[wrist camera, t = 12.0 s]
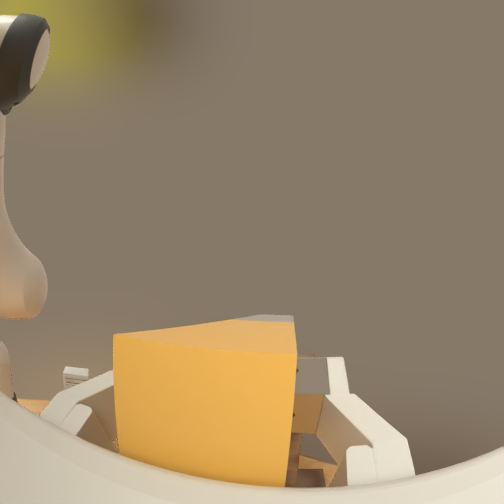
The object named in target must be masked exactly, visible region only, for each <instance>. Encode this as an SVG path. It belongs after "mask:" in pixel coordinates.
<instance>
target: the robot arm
mask: <svg viewBox="0 0 504 504" xmlns="http://www.w3.org/2000/svg"><path fill="white" fill-rule="evenodd" d="M49 33H50V27H49V25H48V23H47V21H46V19H44V18H42V17H39V16H36V15H31V14H24V13H22V14H20V15H19V16H13V15H0V317H2V318H6V319H27V318H33V317H35V316H36V315H37V314H38V313H39V312H40V310H41V309H42V307H43V305H44V303H45V300H46V297H47V290H48V284H47V277H46V273H45V270H44V267H43V265H42V264H41V262H40V260H39V259H38V258H37V257H35V256H34V255H33V254H32V253H31V252H29V251H28V249H26V247H25V246H24V245H23V244H22V242H21V241H20V240H19V238H18V236H17V235H16V233H15V231H14V229H13V227H12V225H11V223H10V220H9V217H8V214H7V211H6V207H5V201H4V186H3V163H4V145H5V120H6V118H5V117H6V114H8V113H9V112H10V111H11V108H12V107H13V106H15V105H17V104H19V103H21V102H22V101H23V100H24V99H25V98H26V97H27V96H28V95H29V94H30V93H31V92H32V91H33V89H34V88H35V85H36V83H37V81H38V80H39V78H40V76H41V74H42V72H43V70H44V68H45V65H46V63H47V60H48V56H49V50H50V37H49ZM291 432H293V433H316V435H317V437H318V438H319V439H320V441H321V442H322V444H323V445H324V446H325V448H326V449H327V450H328V452H329V453H330V454H331V456H332V457H333V459H334V460H335V461H336V463H337V464H338V465H339V467H338V470H337V472H336V474H335V476H334V478H333V480H332V482H331V484H330V486H329V487H317V488H294V487H271V486H258V485H248V484H240V483H232V482H225V481H219V480H213V479H208V478H202V477H197V476H193V475H188V474H184V473H179V472H175V471H171V470H168V469H164V468H160V467H157V466H153V465H150V464H147V463H144V462H140V461H137V460H134V459H131V458H129V457H126V456H123V455H120V454H119V451H118V450H117V449H116V447H115V446H114V444H113V443H112V441H113V440H115V439H116V438H118V435H117V425H116V414H115V399H114V375H113V370H111V371H109V372H107V373H104V374H102V375H100V376H97V377H95V378H93V379H90V380H88V381H85V382H83V383H81V384H78V385H76V386H73V387H71V388H69V389H66V390H64V391H61V392H59V393H58V394H57V395H56V396H55V397H54V398H53V399H52V400H51V402H50V403H49V404H48V405H47V406H46V407H45V409H44V410H43V411H42V412H41V413H40V415H39V416H38V415H36V414H35V413H33V412H31V411H30V410H28V409H26V408H25V407H23V406H22V405H20V404H19V403H18V401H17V398H16V394H15V393H14V391H13V383H12V374H11V362H10V356H9V353H8V350H7V348H6V347H5V345H4V344H3V343H2V342H1V341H0V504H504V446H503V447H501V448H498V449H496V450H494V451H491V452H489V453H487V454H484V455H482V456H479V457H477V458H474V459H471V460H468V461H465V462H462V463H459V464H456V465H453V466H450V467H446V468H443V469H440V470H436V471H432V472H428V473H424V474H420V475H416V476H415V472H414V467H413V463H412V458H411V454H410V450H409V446H408V442H407V439H406V438H405V437H404V436H403V435H401V434H400V433H399V432H398V431H397V430H396V429H394V428H393V427H392V426H391V425H390V424H389V423H387V422H386V421H385V420H384V419H383V418H381V417H380V416H379V415H378V414H377V413H376V412H374V411H373V410H372V409H371V408H370V407H369V406H368V405H366V404H365V403H364V402H363V401H362V400H361V399H359V397H357V396H356V395H355V394H350V393H349V388H348V381H347V375H346V370H345V364H344V359H343V358H342V357H326V358H299V357H297V366H296V380H295V394H294V406H293V417H292V428H291Z"/></svg>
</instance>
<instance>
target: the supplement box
mask: <svg viewBox="0 0 504 504" xmlns="http://www.w3.org/2000/svg"><path fill="white" fill-rule="evenodd" d="M88 380H89V369H85V368H74V367H65V369H64V372H63V381H64V390H66V389H69V388H71V387H73V386H76V385H78V384H81V383H83V382H85V381H88Z"/></svg>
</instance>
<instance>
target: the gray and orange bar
mask: <svg viewBox="0 0 504 504" xmlns="http://www.w3.org/2000/svg"><path fill="white" fill-rule="evenodd" d="M113 338H114V339H113V375H114V399H115V414H116V425H117V435H118V444H119V452H120V455H123V456H126V457H129V458H131V459H134V460H137V461H140V462H144V463H147V464H150V465H153V466H157V467H160V468H164V469H168V470H171V471H175V472H179V473H184V474H188V475H193V476H197V477H202V478H208V479H213V480H219V481H225V482H232V483H240V484H248V485H258V486H271V487H285V481H286V473H287V465H288V456H289V447H290V438H291V428H292V417H293V406H294V394H295V380H296V366H297V347H296V338H295V330H294V320H293V316H288V315H255V316H250V317H244V318H238V319H231V320H225V321H219V322H213V323H205V324H199V325H191V326H184V327H176V328H168V329H159V330H151V331H141V332H132V333H121V334H114V336H113Z"/></svg>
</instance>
